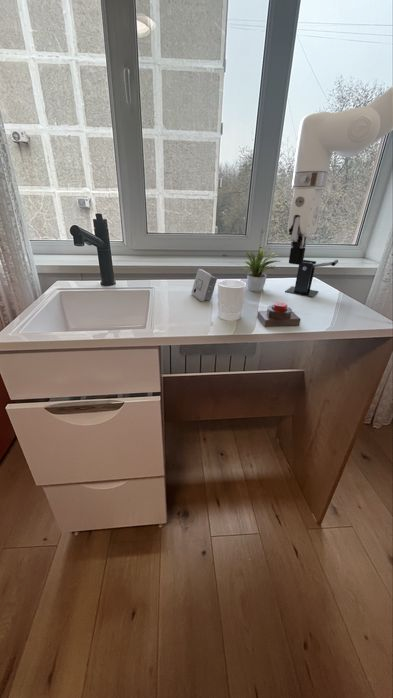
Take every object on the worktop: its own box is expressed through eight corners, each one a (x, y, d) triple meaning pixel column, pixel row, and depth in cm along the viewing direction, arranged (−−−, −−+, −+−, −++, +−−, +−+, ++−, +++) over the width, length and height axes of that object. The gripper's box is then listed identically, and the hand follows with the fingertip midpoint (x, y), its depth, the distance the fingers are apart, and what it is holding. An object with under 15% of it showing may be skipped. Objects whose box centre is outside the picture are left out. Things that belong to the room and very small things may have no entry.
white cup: (210, 316, 85) (212, 283, 80) (226, 309, 90) (229, 278, 85) (232, 324, 80) (235, 289, 75) (247, 316, 85) (251, 283, 80)
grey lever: (338, 264, 97) (338, 257, 96) (335, 267, 93) (335, 260, 92) (305, 269, 103) (304, 262, 102) (301, 272, 100) (300, 265, 99)
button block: (289, 316, 86) (291, 304, 84) (299, 326, 80) (302, 312, 78) (257, 317, 85) (258, 304, 83) (264, 327, 79) (266, 313, 77)
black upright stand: (318, 294, 106) (325, 261, 100) (312, 300, 100) (320, 265, 94) (291, 289, 110) (297, 257, 105) (284, 294, 105) (290, 261, 99)
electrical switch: (190, 294, 103) (193, 268, 98) (204, 294, 105) (207, 268, 100) (201, 302, 95) (204, 274, 91) (214, 302, 97) (219, 275, 93)
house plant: (252, 301, 97) (258, 251, 89) (226, 290, 107) (230, 244, 99) (281, 294, 104) (289, 248, 96) (254, 285, 114) (260, 242, 106)
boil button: (283, 307, 82) (284, 301, 81) (288, 312, 79) (289, 306, 78) (271, 307, 82) (272, 302, 81) (275, 312, 79) (276, 306, 78)
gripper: (317, 180, 59) (301, 271, 67) (332, 182, 69) (317, 260, 78) (281, 181, 62) (271, 267, 71) (301, 183, 73) (290, 257, 82)
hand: (295, 263), depth 75 cm, fingers closed
